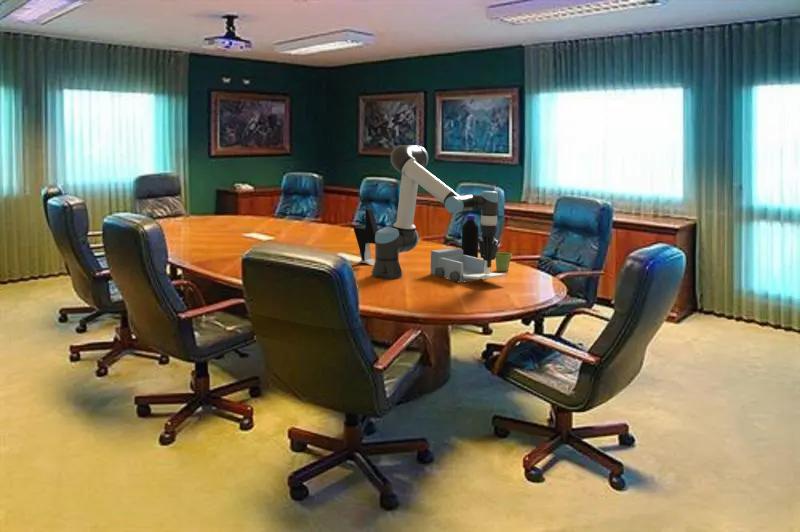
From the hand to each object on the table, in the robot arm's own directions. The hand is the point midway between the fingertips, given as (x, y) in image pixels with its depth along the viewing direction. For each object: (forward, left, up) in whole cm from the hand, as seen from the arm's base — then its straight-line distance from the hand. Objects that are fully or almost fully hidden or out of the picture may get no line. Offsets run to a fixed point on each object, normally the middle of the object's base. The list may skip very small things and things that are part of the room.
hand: (487, 273), depth 334 cm
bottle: (+20, +37, -5) cm, 42 cm away
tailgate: (0, +9, -2) cm, 9 cm away
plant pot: (+30, +22, -6) cm, 38 cm away
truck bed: (0, +22, -5) cm, 23 cm away
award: (-21, +74, -5) cm, 77 cm away
